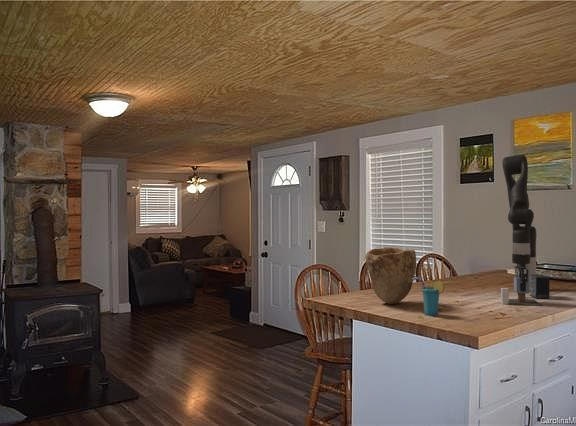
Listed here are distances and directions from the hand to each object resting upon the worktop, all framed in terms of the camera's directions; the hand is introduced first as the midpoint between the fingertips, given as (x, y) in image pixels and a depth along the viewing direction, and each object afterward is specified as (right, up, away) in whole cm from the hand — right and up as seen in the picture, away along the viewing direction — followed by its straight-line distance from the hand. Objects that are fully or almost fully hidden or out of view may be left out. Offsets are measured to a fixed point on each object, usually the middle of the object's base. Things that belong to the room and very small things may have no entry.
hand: (521, 290), depth 229 cm
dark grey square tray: (0, -6, 0) cm, 6 cm away
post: (-9, -6, -2) cm, 11 cm away
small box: (+15, -6, +13) cm, 21 cm away
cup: (-48, -7, -23) cm, 54 cm away
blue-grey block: (0, -1, 0) cm, 1 cm away
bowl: (-59, -7, +2) cm, 59 cm away
